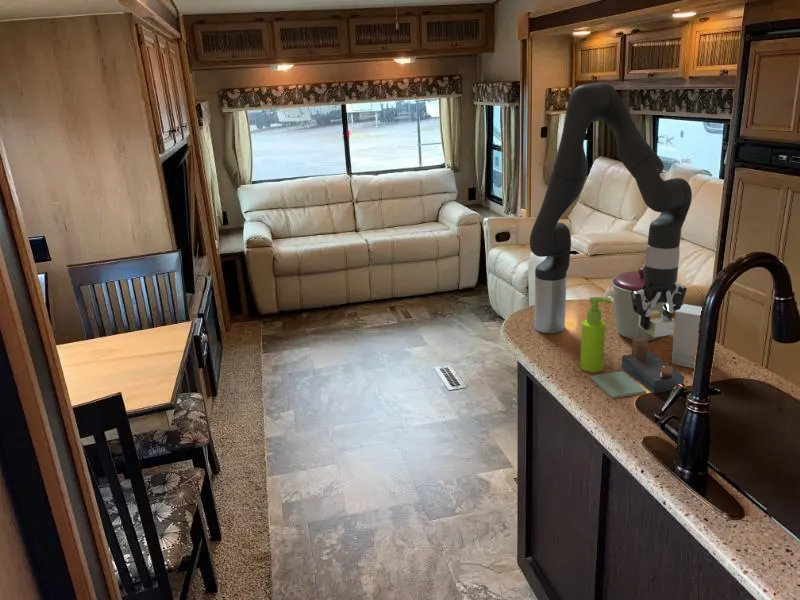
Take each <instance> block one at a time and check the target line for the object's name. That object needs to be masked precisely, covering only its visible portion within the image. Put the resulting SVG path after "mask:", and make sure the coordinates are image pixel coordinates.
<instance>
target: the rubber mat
mask: <svg viewBox="0 0 800 600" xmlns="http://www.w3.org/2000/svg"><path fill="white" fill-rule="evenodd" d="M590 379H591V380H592V381H593V382H594V383H595V384H596V385H597V386H598V387H599V388H600V389H602V391H604V392H605V393H606V394H607V395H608V396H609V397H610V398H611V399H617V398H622V397H623V398H624V397H631V396H635V395H640V394H641V395H642V394H646V393H647V390H646V389H644V388H643V387H642V386H641V385H640V384H638V383H637V381H635V379H632V378H631V377H630V376H629V375H628V374H626V373H625V372H624V371H623V370H621V371H615V372H613V371H612V372H608V373H602V374H595V375H590Z"/></svg>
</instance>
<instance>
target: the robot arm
mask: <svg viewBox="0 0 800 600" xmlns="http://www.w3.org/2000/svg"><path fill="white" fill-rule="evenodd" d="M564 117H565V118H564V122H563V127H562V133H561V138H560V140H559V141H560V142H559V146H558V150H557V154H556V156H555V157H556V158H555V160H554V163H553V166H552V169H551V172H550V176H549V181H548V183H547V189H546V191H545V195H544V198H543V199H542V200H543V201H542V204H541V207H540V210H539V213H538V215H537V217H536V219H535V221H534V223H533V226H532V229H531V232H530V236H529V247H530V251H531V252H532V254H533V255H534V256H535V257H539V258H544V257H545V259H544V260H543V261H542V262H540V263H539V264H538V265H536V267H535V271H534V276H535V277H534V329H535V330H536V331H537V332H540V333H543V334H558V333H561V332H563V331H564V330H565V323H566V305H567V304H566V301H567V299H566V297H567V272H568V271H569V267H570V261H571V260H570V259H571V251H572V249H571V247H572V236H571V231H570V229H569V227H568V226H567V225H566V223H563V222H559V220H560V219H561V217H562V216H563V215H564V214H565V212H566V211H568V209H569V208H570V206H572V204H573V203H575V201H576V200H577V198H578V197H579V196H580V194H581V192H582V189H583V187H584V184H585V181H586V178H587V176H588V172H589V171H588V170H589V166H588V165H589V164H588V160H587V156H586V152H585V148H584V147H585V145H584V141H585V138H586V134H587V132H588V131H587V130H588V128H589V126H590V124H591V123H595V122H600V121H601V122H603V123H605V124H606V125H607V127H609V128H610V129H611V131H612V132H613V135H614V137H615V141H616V149H617V154H618V157H619V160H620V162H621V163H622V164H623V166H624V167H625V169H626V170H627V171H628V172H629V173H630V175H631V176H632V177H633V178H634V179H635V182H636V186H637V188H638V190H639V192H640V196H641V197H642V200H643V202H644V204H645V206H647V207H648V208H649V209H650V210H652V211H653V212H657V213H660V214H659V216H658V217H657V218H655V219H654V220H653V221H651V223H650V225H649V228H648V235H647V236H648V237H647V247H646V250H645V259H644V266H643V267H644V286H643V287H642V290H639V291H632V292H631V297H632V303H633V310H634V312H636V313H637V314H639V315H641V321H640V325H641V327H642V328H643V329H645V330H649V322H650V316H649V315H650V313H651V311H652V309H654V307H655V305H656V304H657V303H660V302H661V303H662V304H663V308H664V310H665V311H663V315H664V316H665V317H667V318H669V319H671V320H672V321H673V319H672V318H673V314H674V313H675V311H676V310H679V309H680V308H681V306H682V305H683V301H684V298H685V297H686V293H687V289H688V288H687V287H685V286H683V285H681V284H678V285H676V284H675V283H676V282H677V281H678V273H679V264H680V263H679V262H680V256H681V255H680V243H681V234H682V227H683V225H684V223H685V221H686V218H687V215H688V212H689V210H690V207H691V203H692V198H693V197H692V196H693V191H692V188H691V185H690V183H689V182H688V181H687V180H686V179H685V178H681V177H675V178H670V179H663V178H662V177H661V174H662V173H663V171H664V169H665V167H664V162H663V161H662V159H661V158H660V157H659V155H658V154H657V152H656V151H654V149H653V148H652V147H651V145H649V143H648V142H647V140H646V139H645V138H644V137H643V135H642V134H641V132H640V130H639V129H638V128H637V126H636V124H635V122H634V120H633V118H632V117H631V115H630V113H629V111H628V109H627V108H626V105H625V104H624V102H623V99H622V98H621V96H620V95H619V92H618V91H617V90H616V89H615V87H613V86H612V85H611V84H609V83H607V82H596V83H594V82H593V83H589V84H588V83H587V84H582V85H578V86H577V87H575V88H574V89H573V91H572V92H571V94H570V96H569V99H568V102H567V106H566V112H565V116H564ZM673 293H674V295H673V298H671V295H672V294H673ZM643 295H645V297H644V300H643V302H642V300H641V299H643ZM649 301H650V302H651V303H649ZM642 304H643V305H642Z"/></svg>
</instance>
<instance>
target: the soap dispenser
mask: <svg viewBox="0 0 800 600" xmlns="http://www.w3.org/2000/svg"><path fill="white" fill-rule="evenodd" d="M588 300H589V303H591V304H590V306H591V307H590V308H589V309H587V316H586V317H587V318H586V319H584V320H582V322H581V339H580V340H581V343H580V361H579V362H580V363H579V364H580V365H579V366H580V369H581V370H583V371H585V372H588V373H598V372H601V371H602V370H603V368H604V357H605V355H604V353H605V336H606V321H604V320H603V319H602V310H601V309H600V308H599V303H612V300H611V298H609V297H603V296H595V297H588Z"/></svg>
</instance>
